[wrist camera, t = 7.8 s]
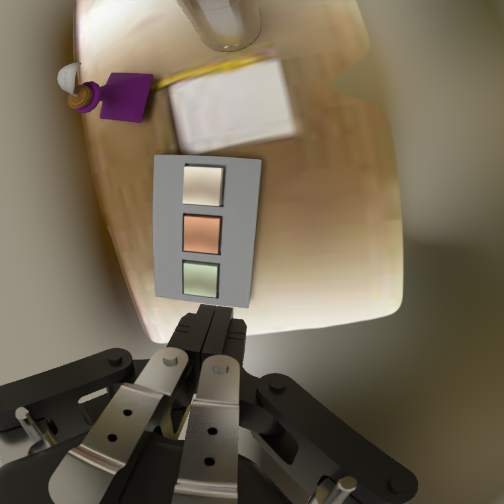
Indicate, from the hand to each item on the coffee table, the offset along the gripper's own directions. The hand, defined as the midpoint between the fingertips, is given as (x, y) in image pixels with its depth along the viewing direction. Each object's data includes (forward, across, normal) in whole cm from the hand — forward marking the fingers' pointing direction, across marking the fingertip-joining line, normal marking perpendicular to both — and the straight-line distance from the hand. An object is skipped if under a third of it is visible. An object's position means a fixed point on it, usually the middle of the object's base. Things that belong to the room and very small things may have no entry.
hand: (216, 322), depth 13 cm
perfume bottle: (+31, +20, -16) cm, 40 cm away
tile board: (+31, +7, +4) cm, 32 cm away
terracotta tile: (+29, +7, +4) cm, 30 cm away
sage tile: (+29, +7, +11) cm, 32 cm away
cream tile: (+28, +7, -3) cm, 29 cm away
